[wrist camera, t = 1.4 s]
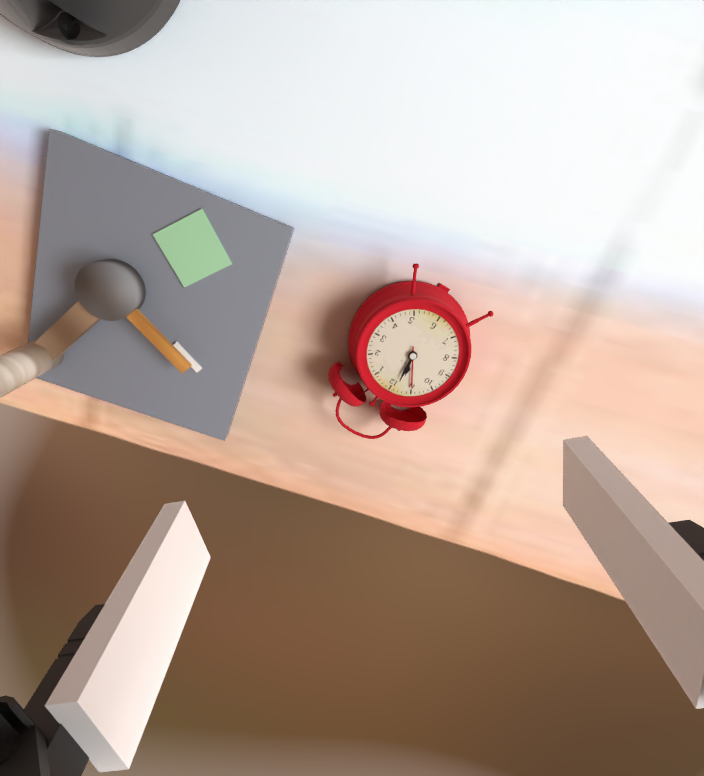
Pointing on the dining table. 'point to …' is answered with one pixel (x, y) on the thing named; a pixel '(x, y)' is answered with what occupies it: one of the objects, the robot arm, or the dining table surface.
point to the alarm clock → (406, 351)
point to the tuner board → (152, 286)
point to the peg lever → (87, 323)
